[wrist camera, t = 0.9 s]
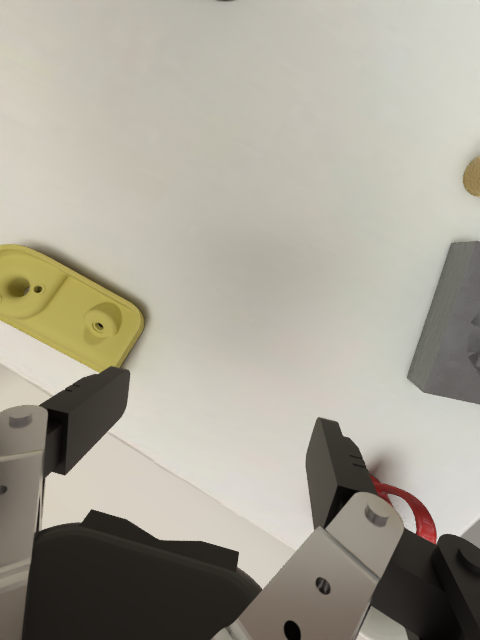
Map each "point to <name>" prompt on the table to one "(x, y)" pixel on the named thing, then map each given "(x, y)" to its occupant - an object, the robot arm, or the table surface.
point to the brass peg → (472, 177)
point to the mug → (378, 628)
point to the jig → (452, 330)
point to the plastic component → (66, 309)
